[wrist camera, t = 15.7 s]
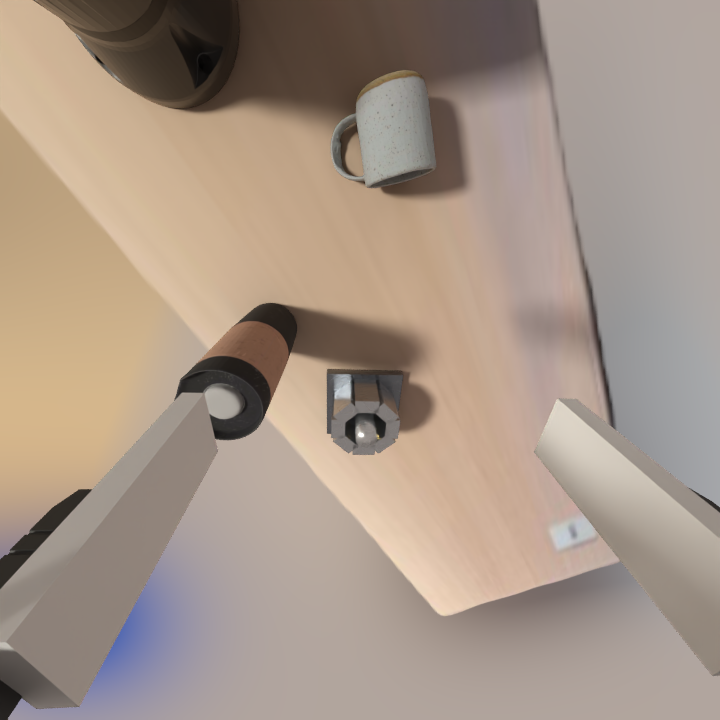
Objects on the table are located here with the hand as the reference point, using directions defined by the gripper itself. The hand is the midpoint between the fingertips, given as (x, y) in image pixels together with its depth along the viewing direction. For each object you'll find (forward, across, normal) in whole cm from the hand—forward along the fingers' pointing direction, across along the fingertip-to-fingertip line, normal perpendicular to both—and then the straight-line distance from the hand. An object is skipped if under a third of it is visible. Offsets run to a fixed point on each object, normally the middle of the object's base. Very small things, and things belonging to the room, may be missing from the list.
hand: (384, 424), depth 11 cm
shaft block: (+32, +2, -21) cm, 38 cm away
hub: (+30, +2, -21) cm, 37 cm away
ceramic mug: (+32, +2, +14) cm, 35 cm away
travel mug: (+32, -12, -8) cm, 35 cm away
